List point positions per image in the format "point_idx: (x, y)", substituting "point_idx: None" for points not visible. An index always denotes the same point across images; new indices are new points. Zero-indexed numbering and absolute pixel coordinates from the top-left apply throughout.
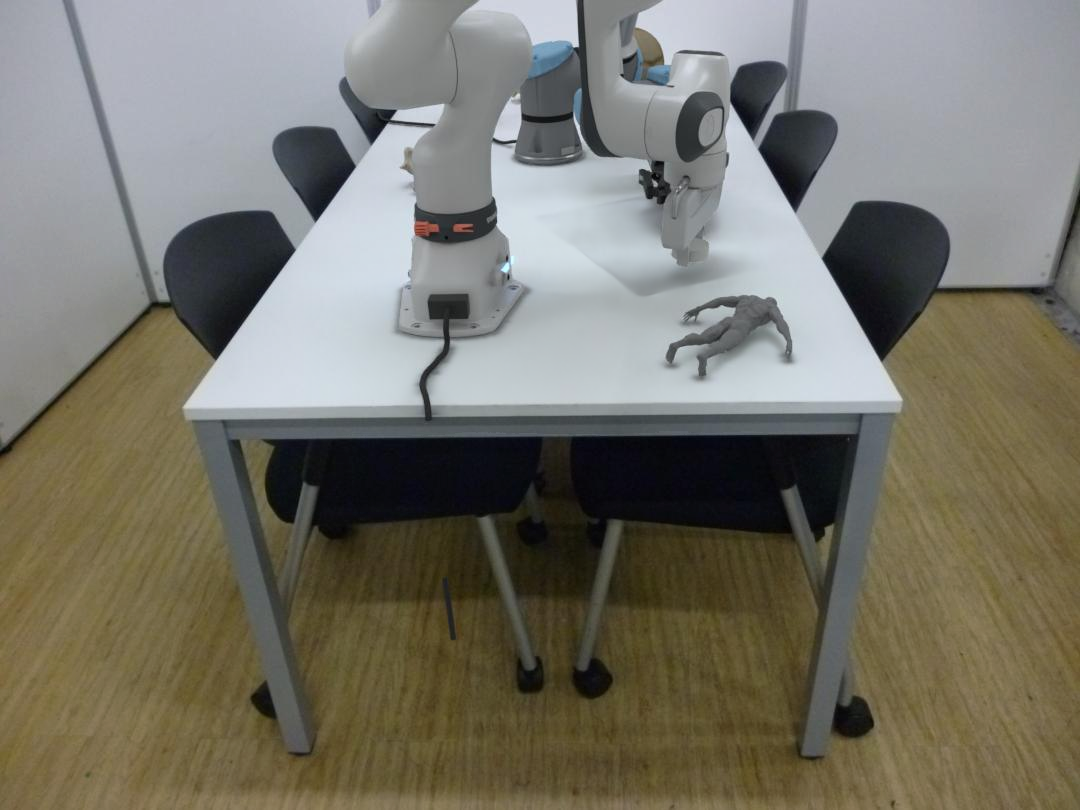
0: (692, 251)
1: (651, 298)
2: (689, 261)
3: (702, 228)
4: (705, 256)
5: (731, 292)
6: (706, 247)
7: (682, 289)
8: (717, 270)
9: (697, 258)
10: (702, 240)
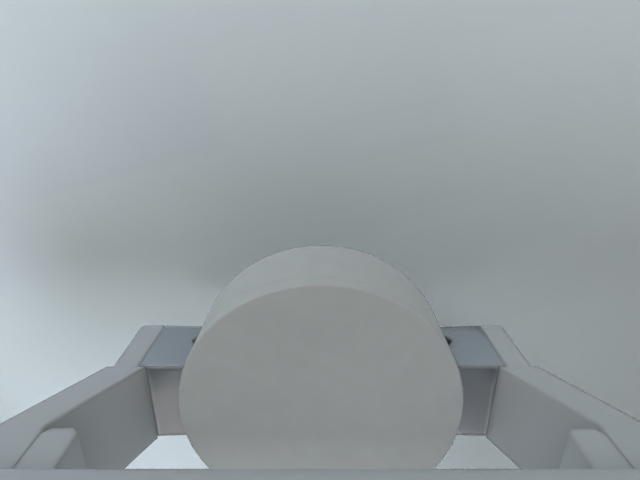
0: (455, 363)
1: (631, 364)
2: (471, 332)
3: (75, 426)
4: (361, 259)
5: (498, 4)
6: (364, 290)
7: (509, 271)
8: (212, 167)
9: (422, 299)
10: (219, 354)
